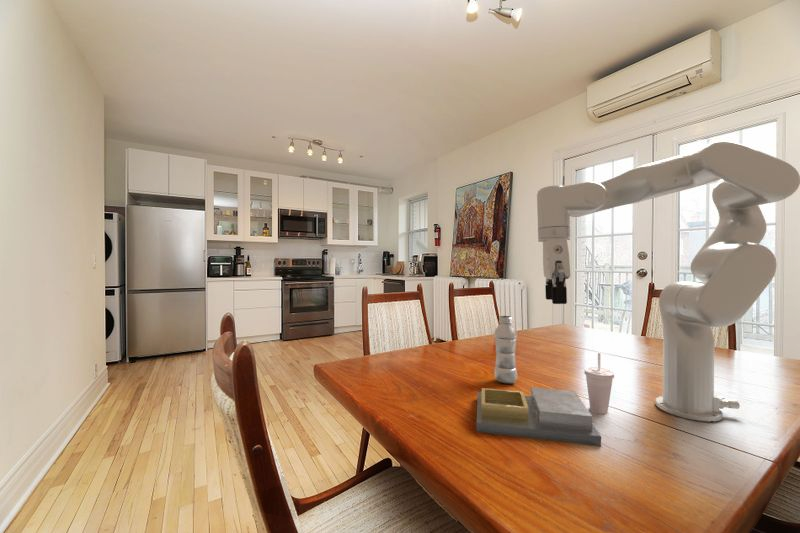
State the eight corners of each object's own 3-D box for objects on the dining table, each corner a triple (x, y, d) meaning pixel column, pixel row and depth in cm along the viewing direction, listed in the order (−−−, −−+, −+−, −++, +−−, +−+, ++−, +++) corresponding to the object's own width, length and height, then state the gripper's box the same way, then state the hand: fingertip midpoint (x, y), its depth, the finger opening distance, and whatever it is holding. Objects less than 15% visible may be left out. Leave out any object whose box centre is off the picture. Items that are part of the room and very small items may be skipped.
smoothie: (614, 408, 84) (614, 352, 84) (614, 418, 78) (614, 358, 78) (584, 402, 87) (585, 349, 87) (583, 412, 82) (583, 354, 82)
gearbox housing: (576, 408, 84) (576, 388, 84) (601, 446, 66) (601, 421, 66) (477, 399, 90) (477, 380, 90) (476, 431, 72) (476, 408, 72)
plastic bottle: (518, 386, 98) (518, 318, 98) (494, 385, 100) (494, 318, 100) (515, 379, 105) (515, 315, 105) (493, 378, 106) (493, 314, 106)
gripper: (578, 231, 77) (580, 305, 77) (562, 236, 94) (564, 298, 94) (543, 233, 79) (545, 305, 79) (533, 238, 96) (535, 298, 96)
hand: (555, 301), depth 87 cm, fingers open, 9 cm apart
